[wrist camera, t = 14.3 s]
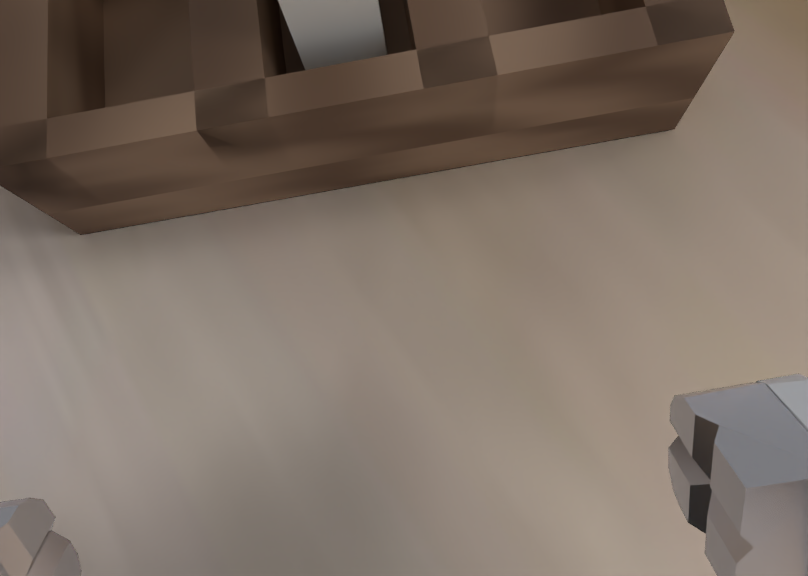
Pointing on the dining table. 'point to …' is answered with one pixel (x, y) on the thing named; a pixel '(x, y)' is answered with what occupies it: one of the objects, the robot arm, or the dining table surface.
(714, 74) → the dining table surface
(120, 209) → the rack
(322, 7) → the block
